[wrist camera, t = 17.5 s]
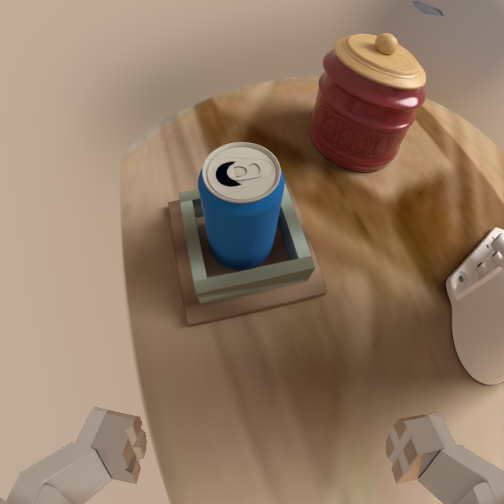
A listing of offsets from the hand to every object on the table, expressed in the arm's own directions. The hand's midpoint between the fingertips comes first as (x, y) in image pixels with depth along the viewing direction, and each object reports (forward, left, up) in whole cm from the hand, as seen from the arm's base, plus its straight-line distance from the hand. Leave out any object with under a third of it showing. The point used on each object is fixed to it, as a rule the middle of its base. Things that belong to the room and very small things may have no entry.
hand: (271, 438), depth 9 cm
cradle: (-11, -12, -21) cm, 26 cm away
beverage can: (-11, -13, -20) cm, 26 cm away
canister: (-34, -14, -21) cm, 42 cm away
